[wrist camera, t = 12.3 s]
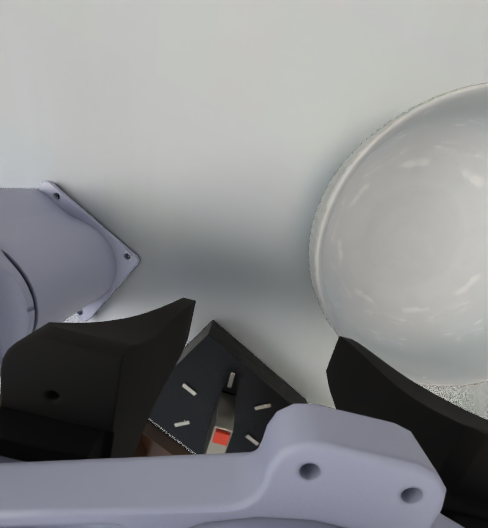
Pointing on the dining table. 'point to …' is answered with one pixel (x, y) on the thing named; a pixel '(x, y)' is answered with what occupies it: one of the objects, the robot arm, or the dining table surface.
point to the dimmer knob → (221, 425)
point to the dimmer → (212, 384)
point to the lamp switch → (157, 444)
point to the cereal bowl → (412, 242)
